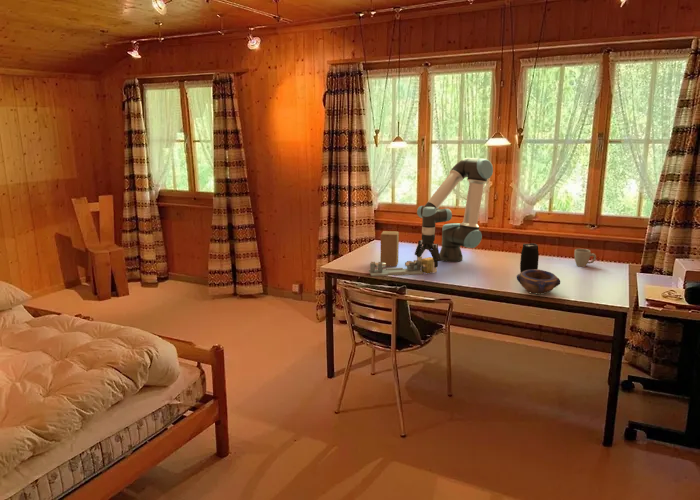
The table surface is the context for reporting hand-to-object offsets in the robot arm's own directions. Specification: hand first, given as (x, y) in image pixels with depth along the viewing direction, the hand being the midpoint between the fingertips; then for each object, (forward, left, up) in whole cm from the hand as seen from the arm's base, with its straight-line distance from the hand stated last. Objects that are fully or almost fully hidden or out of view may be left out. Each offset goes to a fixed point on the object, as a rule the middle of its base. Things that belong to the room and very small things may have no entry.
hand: (426, 269), depth 306 cm
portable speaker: (-52, +21, -1) cm, 56 cm away
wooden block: (+19, -20, -1) cm, 27 cm away
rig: (+19, 0, -1) cm, 19 cm away
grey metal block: (+9, -1, -1) cm, 9 cm away
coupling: (-1, 0, -1) cm, 2 cm away
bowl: (-46, +45, -1) cm, 65 cm away
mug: (-97, 0, -1) cm, 97 cm away
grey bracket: (+29, -1, -1) cm, 29 cm away
